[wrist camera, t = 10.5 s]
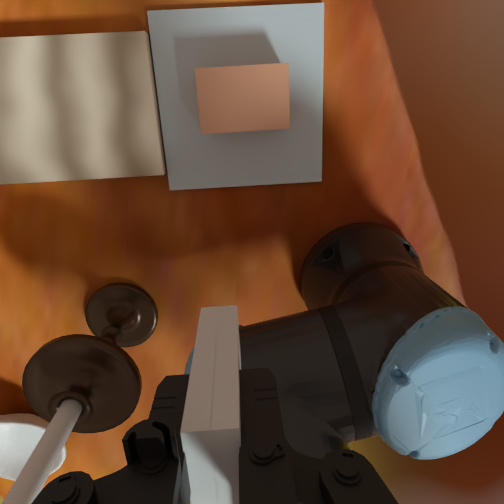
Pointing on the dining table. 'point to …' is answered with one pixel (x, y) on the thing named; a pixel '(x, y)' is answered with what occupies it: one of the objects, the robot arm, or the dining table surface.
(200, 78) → the pink block
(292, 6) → the mat
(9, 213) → the dining table surface
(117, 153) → the beige flat rectangular piece
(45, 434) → the candlestick
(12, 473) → the spoon rest
